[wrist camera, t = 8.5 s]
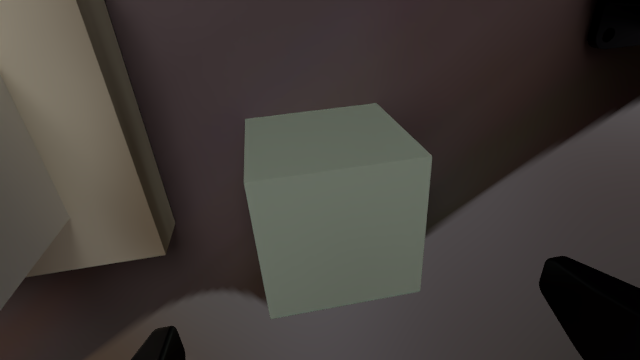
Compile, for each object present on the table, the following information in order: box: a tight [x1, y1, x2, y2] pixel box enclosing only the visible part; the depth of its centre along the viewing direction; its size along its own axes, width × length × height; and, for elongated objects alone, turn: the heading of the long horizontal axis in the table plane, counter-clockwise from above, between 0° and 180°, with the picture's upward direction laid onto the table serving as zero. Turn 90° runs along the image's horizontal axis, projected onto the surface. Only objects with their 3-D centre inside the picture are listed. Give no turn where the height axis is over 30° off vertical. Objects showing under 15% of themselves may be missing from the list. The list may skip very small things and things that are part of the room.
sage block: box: [244, 103, 432, 319], centre depth 13 cm, size 5×5×5 cm
